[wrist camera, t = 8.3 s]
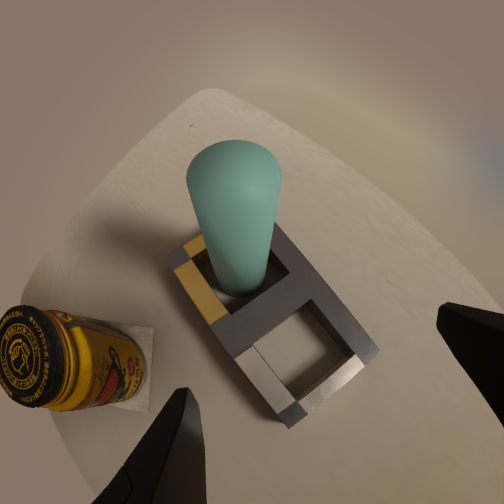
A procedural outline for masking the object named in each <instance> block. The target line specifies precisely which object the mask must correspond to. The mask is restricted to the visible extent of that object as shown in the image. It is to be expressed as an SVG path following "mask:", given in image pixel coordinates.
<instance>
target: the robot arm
mask: <svg viewBox="0 0 504 504" xmlns="http://www.w3.org/2000/svg"><path fill="white" fill-rule="evenodd" d="M436 326H437V329H438V331H439V333H440V334H441V336H442V337H443V339H444V340H445V342H446V344H447V345H448V347H449V348H450V350H451V352H452V353H453V355H454V356H455V358H456V359H457V361H458V362H459V363H460V365H461V366H462V367H463V369H464V370H465V371H466V373H467V374H468V376H469V377H470V378H471V380H472V381H473V382H474V384H475V385H476V387H477V388H478V389H479V391H480V392H481V394H482V395H483V397H484V398H485V399H486V401H487V402H488V404H489V405H490V407H491V408H492V410H493V411H494V413H495V414H496V416H497V418H498V419H499V421H500V422H501V424H502V425H503V427H504V314H501V313H496V312H492V311H487V310H483V309H478V308H474V307H469V306H464V305H460V304H455V303H451V302H447V303H445V304H443V305H441V306H440V307H439V309H438V316H437V322H436ZM91 504H207V499H206V472H205V446H204V439H203V432H202V424H201V417H200V409H199V405H198V403H197V401H196V399H195V397H194V395H193V394H192V392H191V390H190V389H189V388H188V387H184V388H178V389H176V390H175V391H174V393H173V394H172V395H171V397H170V398H169V400H168V401H167V403H166V404H165V406H164V407H163V409H162V410H161V411H160V413H159V414H158V416H157V417H156V419H155V420H154V422H153V423H152V424H151V426H150V427H149V429H148V430H147V432H146V433H145V434H144V436H143V437H142V439H141V440H140V442H139V443H138V444H137V446H136V447H135V449H134V450H133V452H132V453H131V454H130V456H129V457H128V459H127V460H126V461H125V463H124V466H122V467H121V468H120V470H119V471H118V473H117V474H116V475H115V477H114V478H113V479H112V481H111V482H110V483H109V484H108V486H107V487H106V488H105V489H104V490H103V491H102V493H101V494H100V495H99V496H98V497H97V498H96V499H95V500H94V501H93V502H92V503H91Z"/></svg>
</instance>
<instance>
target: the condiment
mask: <svg viewBox="0 0 504 504" xmlns="http://www.w3.org/2000/svg"><path fill="white" fill-rule="evenodd" d="M153 336H154V328H150V327H142V326H134V325H126V324H120V323H113V322H107V321H101V320H95V319H89V318H84V317H78V316H73V315H70V314H68V313H64V312H61V311H57V310H46V311H43V310H38V309H37V308H35V307H33V306H29V305H28V306H27V305H20V306H15V307H12V308H10V309H9V310H8V311H7V312H6V313H5V314H4V316H3V317H2V318H1V320H0V384H1V386H2V387H3V389H4V390H5V391H6V393H7V394H8V396H9V397H10V398H12V400H14V401H16V402H17V403H19V404H21V405H23V406H26V407H31V408H35V407H38V408H39V407H43V408H48V409H51V410H53V411H60V412H63V411H74V410H81V409H85V408H91V407H96V406H102V405H111V406H115V407H119V408H123V409H128V410H132V411H137V412H141V413H146V414H149V400H150V381H151V365H152V350H153V348H152V346H153Z"/></svg>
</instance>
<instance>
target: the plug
mask: <svg viewBox="0 0 504 504" xmlns="http://www.w3.org/2000/svg"><path fill="white" fill-rule="evenodd" d="M281 177H282V174H281V168H280V165H279V163H278V161H277V159H276V158H275V157H274V155H273V154H272V153H271V152H270V151H268V150H267V149H266V148H264V147H262V146H260V145H258V144H256V143H252V142H249V141H243V140H229V141H223V142H219V143H216V144H213V145H211V146H209V147H207V148H205V149H204V150H202V151H201V152H200V153H199V154H197V155H196V157H195V158H194V159H193V160H192V162H191V163H190V165H189V168H188V170H187V175H186V182H187V187H188V190H189V193H190V197H191V200H192V203H193V207H194V210H195V213H196V217H197V220H198V223H199V226H200V229H201V233H202V236H203V239H204V242H205V245H206V248H207V251H208V255H209V258H210V261H211V264H212V267H213V270H214V273H215V276H216V279H217V282H218V284H219V286H220V288H221V289H222V290H223V291H224V292H225V293H226V294H228V295H230V296H233V297H238V298H243V297H248V296H251V295H253V294H254V293H256V292H257V291H258V290H259V289H260V288H261V286H262V284H263V282H264V278H265V272H266V267H267V261H268V255H269V250H270V244H271V238H272V232H273V227H274V221H275V215H276V209H277V203H278V197H279V191H280V185H281Z"/></svg>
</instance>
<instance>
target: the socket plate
mask: <svg viewBox="0 0 504 504" xmlns="http://www.w3.org/2000/svg"><path fill="white" fill-rule="evenodd" d="M208 258H209V255H208V251H207V248H206V245H205V242H204V239H203V236H202V234H201V235H199V236H198V237H196V238H195V239H193V240H191V241H190V242H188V243H187V244H185V245H184V246H182V247H180V248H179V249H177V250H176V251H174V252H173V253H171V254H170V255H168V256H167V257H165V259H166V261H167V263H168V264H169V266H170V267H171V269H172V271H173V272H174V274H175V275H176V277H177V278H178V280H179V282H180V283H181V285H182V286H183V288H184V289H185V291H186V292H187V294H188V295H189V297H190V298H191V300H192V301H193V303H194V304H195V306H196V307H197V309H198V310H199V312H200V313H201V315H202V316H203V318H204V319H205V321H206V322H207V324H208V325H209V326H210V328H211V329H212V331H213V332H214V334H215V335H216V336H217V338H218V339H219V341H220V342H221V343H222V345H223V346H224V348H225V349H226V350H227V352H228V353H229V354H230V356H231V357H232V358H233V360H234V361H235V363H236V364H237V365H238V367H239V368H240V369H241V370H242V372H243V373H244V374H245V376H246V377H247V378H248V380H249V381H250V382H251V384H252V385H253V386H254V387H255V389H256V390H257V391H258V392H259V394H260V395H261V396H262V397H263V399H264V400H265V401H266V402H267V404H268V405H269V406H270V407H271V409H272V410H273V411H274V412H275V413H276V415H277V416H278V417H279V418H280V419H281V421H282V422H283V423H284V424H285V425H286V427H287V428H288V429H289V428H290V427H292V426H293V425H295V424H296V423H297V422H299V421H300V420H301V419H303V418H304V417H305V416H307V415H308V414H309V413H311V412H312V411H313V410H314V409H316V408H317V407H318V406H319V405H321V404H322V403H323V402H324V401H326V400H327V399H328V398H329V397H330V396H332V395H333V394H334V393H335V392H336V391H338V390H339V389H340V388H341V387H342V386H343V385H345V384H346V383H347V382H348V381H349V380H350V379H351V378H352V377H353V376H355V375H356V374H357V373H358V372H359V371H360V370H361V369H362V368H363V367H364V366H365V365H366V364H367V363H368V362H370V361H371V360H372V359H373V358H374V357H375V356H376V355H377V354H378V353H379V352H380V350H379V348H378V347H377V346H376V344H375V343H374V342H373V341H372V339H371V338H370V337H369V335H368V334H367V333H366V332H365V330H364V329H363V328H362V326H361V325H360V324H359V323H358V321H357V320H356V319H355V318H354V316H353V315H352V314H351V313H350V311H349V310H348V309H347V308H346V306H345V305H344V304H343V303H342V301H341V300H340V299H339V298H338V296H337V295H336V294H335V293H334V292H333V290H332V289H331V288H330V287H329V285H328V284H327V283H326V282H325V281H324V279H323V278H322V277H321V276H320V275H319V273H318V272H317V271H316V270H315V269H314V267H313V266H312V265H311V264H310V263H309V261H308V260H307V259H306V258H305V257H304V255H303V254H302V253H301V252H300V251H299V249H298V248H297V247H296V246H295V245H294V244H293V242H292V241H291V240H290V239H289V238H288V237H287V235H286V234H285V233H284V232H283V231H282V230H281V228H280V227H279V226H278V225H277V224H276V223H275V222H274V227H273V232H272V238H271V244H270V250H269V255H268V258H269V259H270V260H271V262H272V263H273V264H274V265H275V266H276V268H277V269H278V270H279V271H280V273H281V274H282V275H283V276H284V278H283V279H282V280H280V281H279V282H277V283H276V284H275V285H273V286H272V287H270V288H269V289H268V290H266V291H265V292H263V293H262V294H261V295H259V296H258V297H256V298H255V299H254V300H252V301H251V302H249V303H248V304H246V305H245V306H244V307H242V308H241V309H239V310H238V311H236V312H235V313H234V314H232V315H230V313H229V312H228V310H227V309H226V308H225V306H224V305H223V303H222V302H221V301H220V299H219V298H218V296H217V295H216V294H215V292H214V291H213V289H212V288H211V286H210V285H209V284H208V282H207V281H206V279H205V278H204V276H203V275H202V274H201V272H200V271H199V269H198V268H197V265H198V264H200V263H201V262H203V261H204V260H206V259H208ZM304 305H307V306H308V308H309V309H310V310H311V311H312V313H313V314H314V315H315V316H316V318H317V319H318V320H319V321H320V323H321V324H322V325H323V326H324V328H325V329H326V330H327V331H328V333H329V334H330V335H331V336H332V338H333V339H334V340H335V341H336V343H337V344H338V345H339V347H340V348H341V349H342V350H343V352H344V353H345V354H346V355H347V356H345V357H344V358H343V359H342V360H341V361H340V362H339V363H337V364H336V365H335V366H334V367H333V368H332V369H330V370H329V371H328V372H327V373H326V374H324V375H323V376H322V377H321V378H320V379H318V380H317V381H316V382H315V383H313V384H312V385H311V386H310V387H308V388H307V389H306V390H305V391H303V392H302V393H301V394H299V395H298V396H297V397H295V398H294V397H293V395H292V394H291V393H290V392H289V390H288V389H287V388H286V387H285V385H284V384H283V383H282V382H281V380H280V379H279V378H278V377H277V375H276V374H275V373H274V371H273V370H272V369H271V368H270V366H269V365H268V364H267V362H266V361H265V360H264V359H263V357H262V356H261V355H260V353H259V352H258V351H257V349H256V348H255V347H254V346H253V343H255V342H256V341H258V340H259V339H260V338H262V337H263V336H264V335H266V334H267V333H269V332H270V331H271V330H273V329H274V328H275V327H277V326H278V325H279V324H281V323H282V322H283V321H285V320H286V319H287V318H289V317H290V316H291V315H293V314H294V313H295V312H297V311H298V310H299V309H300V308H302V307H303V306H304Z"/></svg>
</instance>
